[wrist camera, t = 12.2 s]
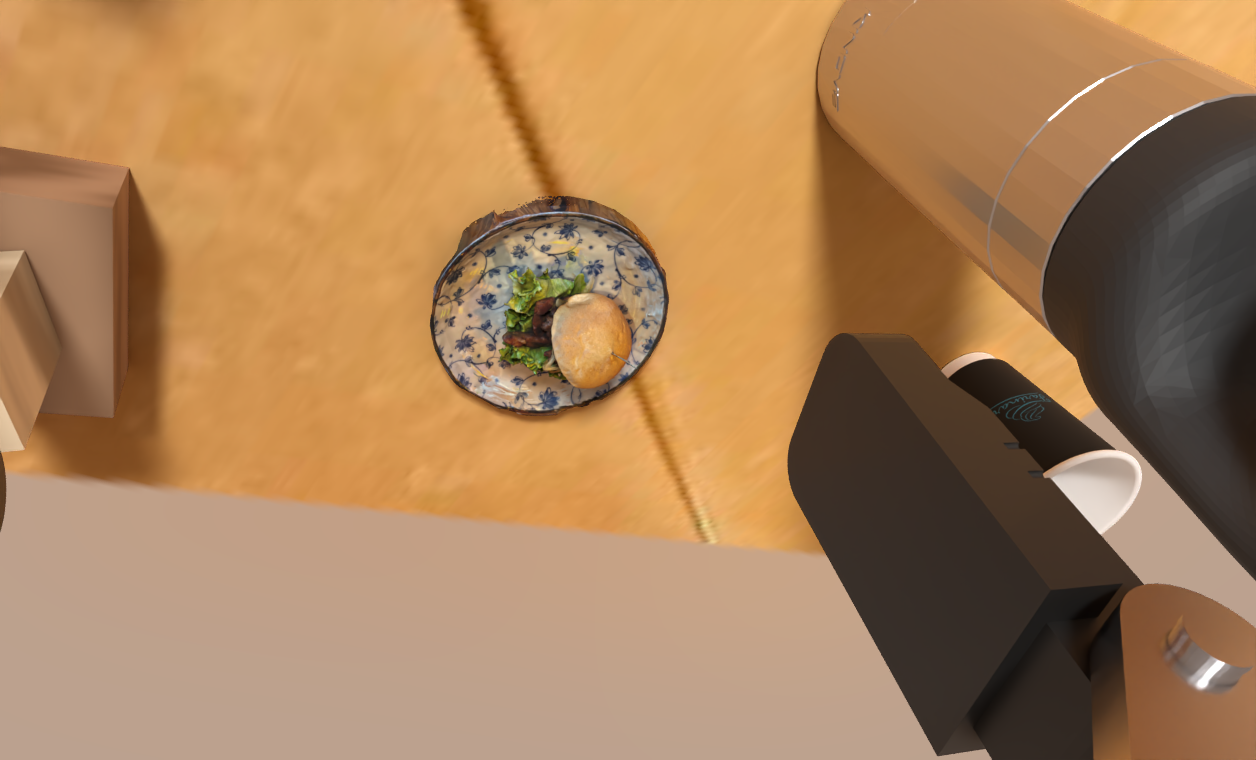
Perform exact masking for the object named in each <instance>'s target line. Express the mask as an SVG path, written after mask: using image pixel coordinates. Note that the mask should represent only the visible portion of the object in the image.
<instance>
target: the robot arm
mask: <svg viewBox="0 0 1256 760" xmlns="http://www.w3.org/2000/svg"><path fill="white" fill-rule="evenodd" d="M818 93H819V98H820V102H821V107H822V110H823V112H824V114H825V116H826V118H827V120H828V122H829V124H830V125H831V126H832V127H833V129H834V130H835V131H836V132H837V133H838V134H839V136H840V137H841V138H842V139H843V140H844V141H846V142H847V143H848V144H849V145H850V146H851V147H852V148H853V149H854V150H855V151H856V152H857V153H858V154H859V155H860V156H862V157H863V158H864V159H865V160H866V161H867V162H868V163H869V164H870V165H871V166H872V167H873V168H874V169H875V170H876V171H877V172H878V173H879V174H880V175H881V176H882V177H883V178H884V179H886V180H887V181H888V182H889V183H890V184H891V185H892V186H893V187H894V188H895V189H896V190H897V191H898V192H899V193H901V194H902V195H903V196H904V197H905V198H906V199H907V200H908V201H909V202H910V203H911V204H912V205H913V206H914V207H916V208H917V209H918V210H919V211H920V212H921V213H922V214H923V215H924V216H925V217H926V218H927V219H928V220H929V221H931V222H932V223H933V224H934V225H935V226H936V227H937V228H938V229H939V230H940V231H941V232H942V233H943V234H944V235H946V236H947V237H948V238H949V239H950V240H951V241H952V242H953V243H954V244H955V245H956V246H957V247H958V248H959V249H961V250H962V251H963V252H964V253H965V254H966V255H967V256H968V257H969V258H970V259H971V260H972V261H973V262H974V263H976V264H977V265H978V266H979V267H980V268H981V269H982V270H983V271H984V272H985V273H986V274H987V275H988V276H989V277H991V278H992V279H993V280H994V281H995V282H996V283H997V284H998V285H999V286H1000V287H1001V288H1002V289H1004V290H1005V291H1006V292H1007V293H1008V294H1009V295H1010V296H1011V297H1012V298H1014V299H1015V300H1016V301H1017V302H1018V303H1019V304H1020V305H1021V306H1022V307H1023V308H1024V309H1025V310H1026V311H1027V312H1029V313H1030V314H1031V315H1032V316H1033V317H1034V318H1035V319H1036V320H1037V321H1038V322H1039V323H1040V324H1041V325H1042V326H1044V327H1045V328H1046V329H1047V330H1048V331H1049V332H1050V333H1051V334H1052V335H1053V336H1054V337H1055V338H1056V339H1057V340H1058V341H1059V342H1060V343H1061V344H1062V345H1063V346H1064V347H1065V348H1066V349H1067V350H1068V351H1069V352H1070V353H1072V354H1073V356H1074V357H1075V358H1076V360H1077V363H1078V366H1079V369H1080V372H1081V376H1082V378H1083V381H1084V383H1085V385H1086V387H1087V390H1088V392H1089V393H1090V395H1091V397H1092V398H1093V400H1094V402H1095V403H1096V404H1097V406H1098V407H1099V408H1100V410H1101V411H1102V412H1103V413H1104V415H1105V416H1106V417H1107V418H1108V419H1109V420H1110V421H1111V422H1112V423H1113V424H1114V425H1115V426H1116V428H1117V429H1118V430H1119V431H1120V432H1121V433H1122V434H1123V435H1124V436H1125V437H1126V438H1127V440H1128V441H1129V442H1130V443H1131V444H1132V445H1133V446H1134V447H1135V448H1136V449H1137V450H1138V451H1139V453H1140V454H1141V455H1142V456H1143V457H1144V458H1145V459H1146V460H1147V461H1148V463H1150V465H1151V466H1152V467H1153V468H1154V469H1155V470H1156V471H1157V472H1158V474H1159V475H1160V476H1161V477H1162V478H1163V479H1164V480H1165V481H1166V482H1167V483H1168V485H1169V486H1170V487H1171V488H1172V489H1173V490H1174V491H1175V492H1176V493H1177V494H1178V496H1179V497H1180V498H1181V499H1182V500H1183V501H1184V502H1185V504H1186V505H1187V506H1188V507H1189V508H1190V509H1191V510H1192V511H1193V512H1194V514H1195V515H1196V516H1197V517H1198V518H1199V519H1200V520H1201V521H1202V523H1203V524H1204V525H1205V526H1206V527H1207V528H1208V529H1209V530H1210V532H1211V533H1212V534H1213V535H1214V536H1215V537H1216V538H1217V539H1218V541H1219V542H1220V543H1221V544H1222V545H1223V546H1224V547H1225V548H1226V549H1227V551H1228V552H1229V553H1230V554H1231V555H1232V556H1233V557H1234V558H1235V559H1236V560H1237V561H1238V563H1239V564H1240V565H1241V566H1242V567H1243V568H1244V569H1245V570H1246V571H1247V572H1248V573H1249V574H1250V575H1251V576H1252V577H1253V578H1254V579H1255V580H1256V87H1254V86H1252V85H1249V84H1247V83H1245V82H1243V81H1241V80H1239V79H1236V78H1234V77H1232V76H1230V75H1228V74H1226V73H1223V72H1221V71H1219V70H1217V69H1215V68H1213V67H1210V66H1207V65H1205V64H1203V63H1200V62H1198V61H1196V60H1194V59H1192V58H1190V57H1187V56H1185V55H1183V54H1181V53H1179V52H1177V51H1174V50H1172V49H1170V48H1168V47H1166V46H1164V45H1161V44H1159V43H1157V42H1155V41H1153V40H1151V39H1148V38H1146V37H1144V36H1142V35H1140V34H1138V33H1136V32H1133V31H1131V30H1129V29H1127V28H1125V27H1123V26H1120V25H1118V24H1116V23H1114V22H1112V21H1110V20H1107V19H1105V18H1103V17H1101V16H1099V15H1097V14H1094V13H1092V12H1090V11H1088V10H1086V9H1084V8H1081V7H1079V6H1077V5H1075V4H1073V3H1071V2H1068V1H1066V0H846V1H845V2H844V4H843V6H842V7H841V9H840V11H839V12H838V14H837V15H836V17H835V19H834V20H833V22H832V24H831V26H830V29H829V31H828V34H827V36H826V39H825V41H824V44H823V46H822V51H821V56H820V61H819V65H818ZM1018 444H1019V442H1018V440H1017V439H1016V438H1015V437H1014V436H1013V435H1012V434H1011V432H1010V431H1009V430H1008V429H1007V428H1006V427H1005V426H1004V424H1003V423H1002V422H1001V421H1000V420H999V419H998V418H997V416H996V415H995V414H994V413H993V412H992V411H991V410H990V408H988V407H987V406H985V405H984V404H983V403H981V402H980V401H978V400H977V399H975V398H974V397H973V396H971V395H970V394H968V393H967V392H966V391H964V390H963V389H961V388H960V387H958V386H957V385H956V384H954V383H953V382H951V381H950V380H949V379H948V378H947V377H946V376H945V375H944V373H943V372H942V371H941V370H940V369H939V368H938V366H937V365H936V364H935V363H934V362H933V361H932V359H931V358H930V357H929V356H928V355H927V354H926V352H925V351H924V350H923V349H922V348H921V347H920V345H919V344H918V343H917V342H916V341H915V340H914V339H913V338H911V337H910V336H908V335H905V334H864V333H842V334H839V335H837V336H835V337H834V338H833V339H832V340H831V341H830V342H829V344H828V345H827V347H826V349H825V351H824V353H823V356H822V359H821V361H820V364H819V367H818V369H817V372H816V375H815V377H814V380H813V383H812V385H811V388H810V391H809V393H808V396H807V399H806V401H805V404H804V406H803V409H802V412H801V414H800V417H799V420H798V422H797V425H796V428H795V430H794V433H793V436H792V438H791V442H790V445H789V450H788V475H789V481H790V485H791V489H792V492H793V494H794V496H795V498H796V500H797V502H798V504H799V506H800V508H801V510H802V511H803V513H804V515H805V517H806V519H807V520H808V522H809V524H810V526H811V528H812V529H813V531H814V533H815V535H816V537H817V539H818V540H819V542H820V544H821V546H822V548H823V549H824V551H825V553H826V555H827V557H828V558H829V560H830V562H831V564H832V566H833V568H834V569H835V571H836V573H837V575H838V577H839V578H840V580H841V582H842V584H843V586H844V587H845V589H846V591H847V593H848V595H849V597H850V598H851V600H852V602H853V604H854V606H855V607H856V609H857V611H858V613H859V615H860V616H861V618H862V620H863V622H864V624H865V626H866V627H867V629H868V631H869V633H870V634H871V636H872V638H873V640H874V642H875V644H876V646H877V647H878V649H879V651H880V653H881V655H882V656H883V658H884V660H885V662H886V664H887V665H888V667H889V669H890V671H891V673H892V675H893V676H894V678H895V680H896V682H897V684H898V685H899V687H900V689H901V691H902V693H903V694H904V696H905V698H906V700H907V702H908V703H909V705H910V707H911V709H912V711H913V713H914V714H915V716H916V718H917V720H918V722H919V723H920V725H921V727H922V729H923V731H924V733H925V734H926V736H927V738H928V740H929V742H930V743H931V745H932V747H933V749H934V751H935V753H936V754H937V756H942V755H949V754H955V753H961V752H968V751H974V750H980V749H986V750H987V752H988V753H989V755H990V757H991V758H992V760H1256V628H1255V627H1254V626H1253V625H1251V624H1250V623H1249V622H1247V621H1246V620H1245V619H1244V618H1242V617H1241V616H1239V615H1238V614H1236V613H1235V612H1233V611H1232V610H1230V609H1229V608H1227V607H1225V606H1224V605H1222V604H1220V603H1218V602H1216V601H1214V600H1213V599H1210V598H1208V597H1206V596H1204V595H1202V594H1199V593H1197V592H1194V591H1191V590H1188V589H1185V588H1182V587H1177V586H1173V585H1167V584H1158V583H1157V584H1145V585H1144V584H1143V583H1142V582H1141V581H1140V579H1139V578H1138V577H1137V576H1136V575H1135V574H1134V573H1133V571H1132V570H1131V569H1130V568H1129V567H1128V566H1127V565H1126V563H1125V562H1124V561H1123V560H1122V559H1121V558H1120V557H1119V556H1118V554H1117V553H1116V552H1115V551H1114V550H1113V549H1112V547H1111V546H1110V545H1109V544H1108V543H1107V542H1106V541H1105V540H1104V538H1103V537H1102V536H1101V535H1100V534H1099V533H1098V532H1097V530H1096V529H1095V528H1094V527H1093V526H1092V525H1091V524H1090V522H1089V521H1088V520H1087V519H1086V518H1085V517H1084V516H1083V514H1082V513H1081V512H1080V511H1079V510H1078V509H1077V508H1076V506H1075V505H1074V504H1073V503H1072V502H1071V501H1070V500H1069V498H1068V497H1067V496H1066V495H1065V494H1064V493H1063V492H1062V490H1061V489H1060V488H1059V487H1058V486H1057V485H1056V484H1055V483H1054V481H1053V480H1052V479H1051V478H1044V476H1043V471H1044V470H1043V469H1042V468H1041V467H1040V465H1039V464H1038V463H1037V462H1036V461H1035V460H1034V459H1033V457H1032V456H1031V455H1030V454H1029V453H1028V452H1027V451H1026V449H1019V446H1018ZM5 504H6V475H5V467H4V462H3V458H2V454H1V451H0V530H1V527H2V523H3V519H4V512H5Z"/></svg>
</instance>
